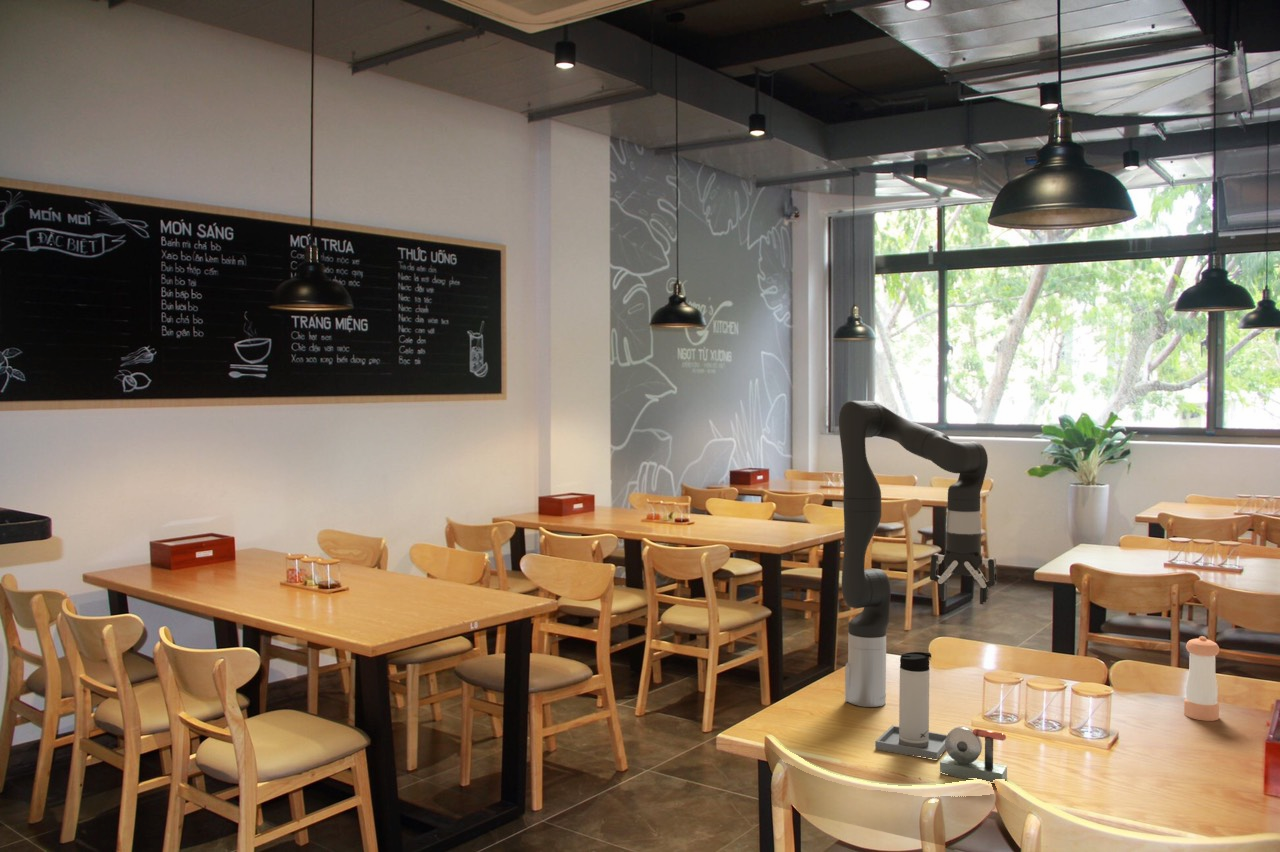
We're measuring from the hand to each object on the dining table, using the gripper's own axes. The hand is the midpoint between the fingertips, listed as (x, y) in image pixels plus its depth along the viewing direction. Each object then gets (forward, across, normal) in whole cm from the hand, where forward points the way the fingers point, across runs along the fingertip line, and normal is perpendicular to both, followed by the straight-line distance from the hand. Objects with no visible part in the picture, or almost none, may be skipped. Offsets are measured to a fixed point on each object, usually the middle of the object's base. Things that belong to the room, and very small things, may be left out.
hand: (962, 602), depth 225 cm
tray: (+30, +7, +14) cm, 34 cm away
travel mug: (+30, +7, +13) cm, 33 cm away
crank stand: (+30, -8, +24) cm, 39 cm away
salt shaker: (+30, -46, -43) cm, 70 cm away
